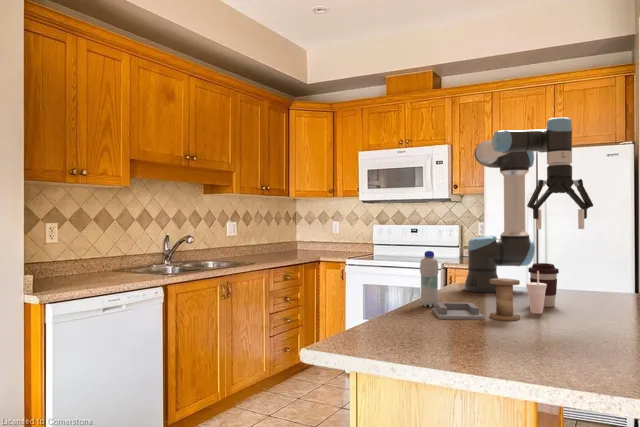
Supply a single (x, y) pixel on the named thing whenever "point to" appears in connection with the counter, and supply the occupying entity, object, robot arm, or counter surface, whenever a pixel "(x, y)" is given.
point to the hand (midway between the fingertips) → (559, 229)
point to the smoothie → (536, 295)
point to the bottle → (429, 280)
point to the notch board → (457, 311)
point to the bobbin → (504, 299)
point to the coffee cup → (545, 280)
